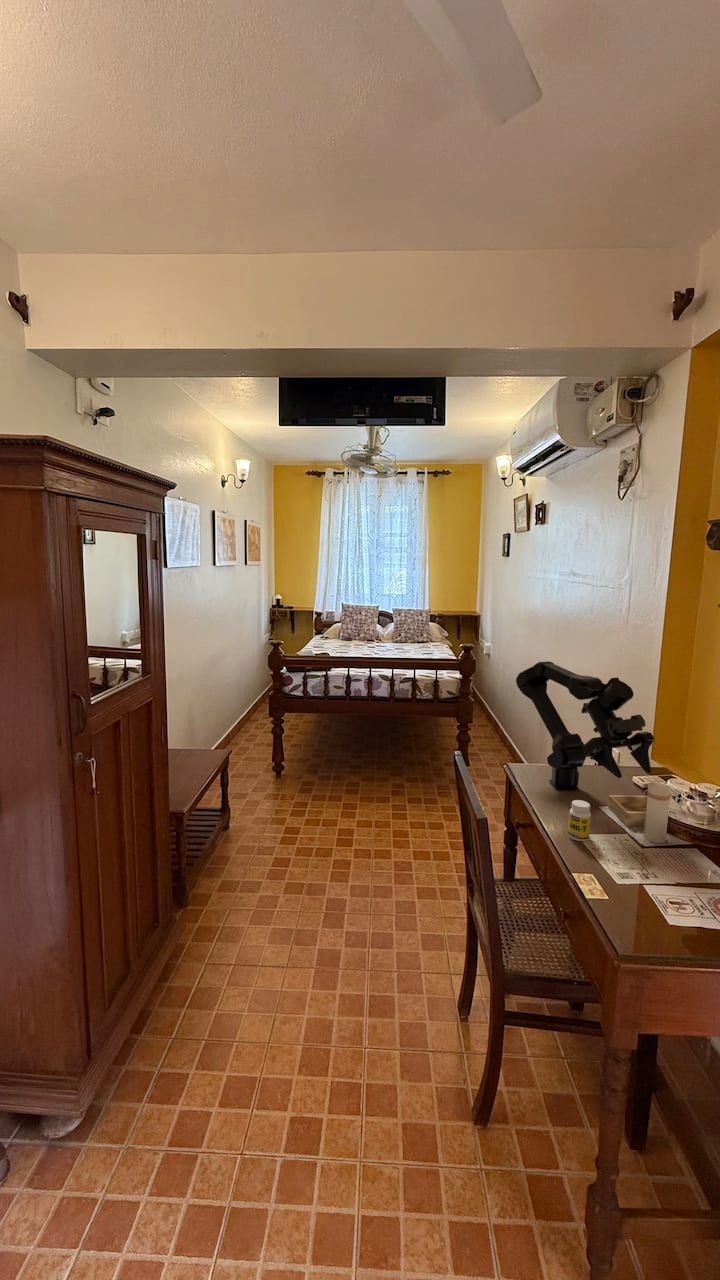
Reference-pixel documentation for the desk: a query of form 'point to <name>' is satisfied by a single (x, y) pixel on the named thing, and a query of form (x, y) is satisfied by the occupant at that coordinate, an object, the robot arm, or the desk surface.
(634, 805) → the tray
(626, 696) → the robot arm
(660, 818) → the vase
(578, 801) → the supplement bottle
